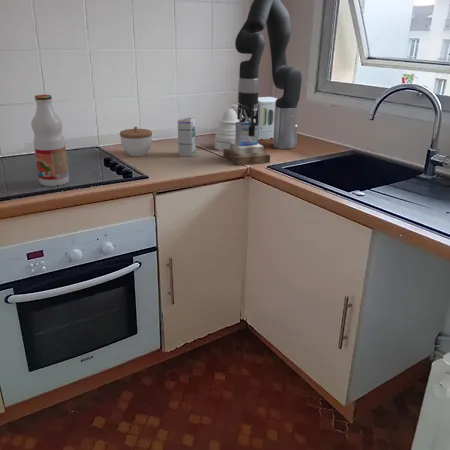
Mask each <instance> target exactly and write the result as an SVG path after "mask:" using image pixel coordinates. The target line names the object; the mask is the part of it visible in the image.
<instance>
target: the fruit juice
mask: <svg viewBox="0 0 450 450" xmlns="http://www.w3.org/2000/svg"><path fill="white" fill-rule="evenodd" d="M34 100H35V102H36V103H35V104H36V110H35V115H34V116H33V118H32V119H31V129H32V132H33V135H34V136H33V148H34V154H35V161H36V169H37V175H38V181H39V184H40V185H41V186H43V185H44V187H57V186H56V185H60V186H63V185H62V184H64V185H66V183H67V184H68V183H69V182H70V174H69V173H70V172H69V166H68V157H67V149H66V142H65V137H64V135H63V132H62V130H63V121H62V119H61V118H60V117H59V116H58V115H57V113H56V112H55V110H54V108H53V105H52V104H53V103H52V101H53V97H52V95H50V94H36V95H34Z"/></svg>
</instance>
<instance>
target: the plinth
mask: <svg viewBox="0 0 450 450" xmlns="http://www.w3.org/2000/svg"><path fill="white" fill-rule="evenodd" d="M264 149H265V147H264V145H262V144H260V143H258V144H256V145H247V146H239V145H237V144H235V142H230V149H223V151H222V152H223V153H222V155H223V156H222V157H224V158H225V159H226V160H228V161H229V162H230V163H232V164H234V165H235V166H247V165H257V164H267V163H268V164H269V163H271V154H269V153H267V152H266V151H264Z"/></svg>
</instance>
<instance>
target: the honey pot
mask: <svg viewBox="0 0 450 450" xmlns="http://www.w3.org/2000/svg"><path fill="white" fill-rule="evenodd" d="M237 110H238V104H231V108H227V109H226V110H225V112H223V114H222V117H221V118H219V119H218V122H219V124H218V127H217V130H216V133H215V135H214V137H215V138H214V149H215V150H217V149H218V151H221V150H222V151H221V152H223V149H230V142H235V130H236V122H239V120H238V119H237V115H238V112H236V111H237Z"/></svg>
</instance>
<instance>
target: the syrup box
mask: <svg viewBox="0 0 450 450" xmlns="http://www.w3.org/2000/svg"><path fill="white" fill-rule="evenodd" d="M177 138H178V139H177V140H178V142H177V143H178V144H177V145H178V156H179V157H190V158H192V157H193V156H194V155H195V154H196V153H197V146H196V145H197V143H196V142H197V141H196V118H194V117H181V118H179V119H178V120H177Z"/></svg>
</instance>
